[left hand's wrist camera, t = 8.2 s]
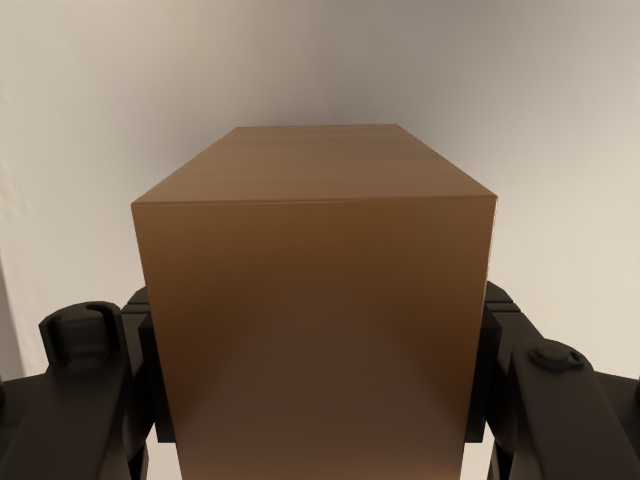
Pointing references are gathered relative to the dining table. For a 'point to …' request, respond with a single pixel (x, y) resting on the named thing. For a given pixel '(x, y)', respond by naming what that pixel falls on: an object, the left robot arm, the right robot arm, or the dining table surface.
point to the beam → (317, 303)
